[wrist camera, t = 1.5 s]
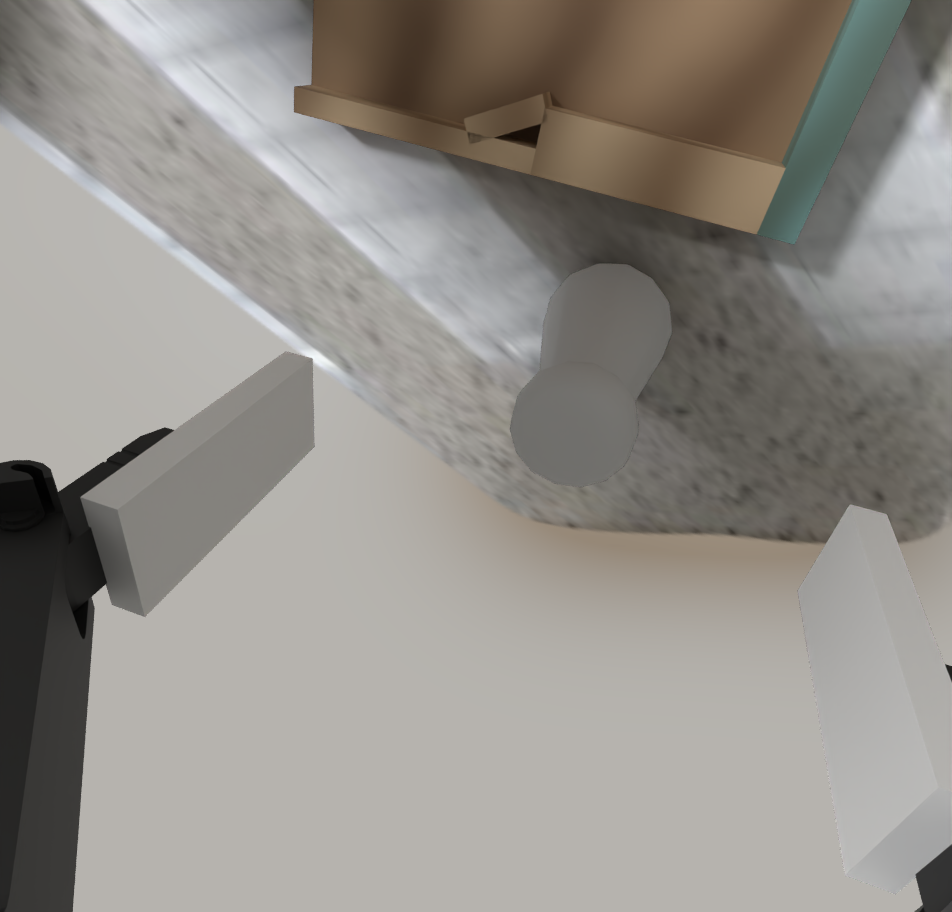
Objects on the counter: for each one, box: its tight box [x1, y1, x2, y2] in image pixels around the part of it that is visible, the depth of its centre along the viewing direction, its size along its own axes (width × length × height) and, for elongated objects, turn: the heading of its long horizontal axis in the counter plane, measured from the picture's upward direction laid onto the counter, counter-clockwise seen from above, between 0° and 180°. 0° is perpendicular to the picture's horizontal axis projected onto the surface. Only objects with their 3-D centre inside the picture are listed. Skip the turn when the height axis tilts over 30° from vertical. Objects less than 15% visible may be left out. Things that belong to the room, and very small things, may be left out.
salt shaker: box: [510, 263, 672, 487], centre depth 26 cm, size 6×6×13 cm
